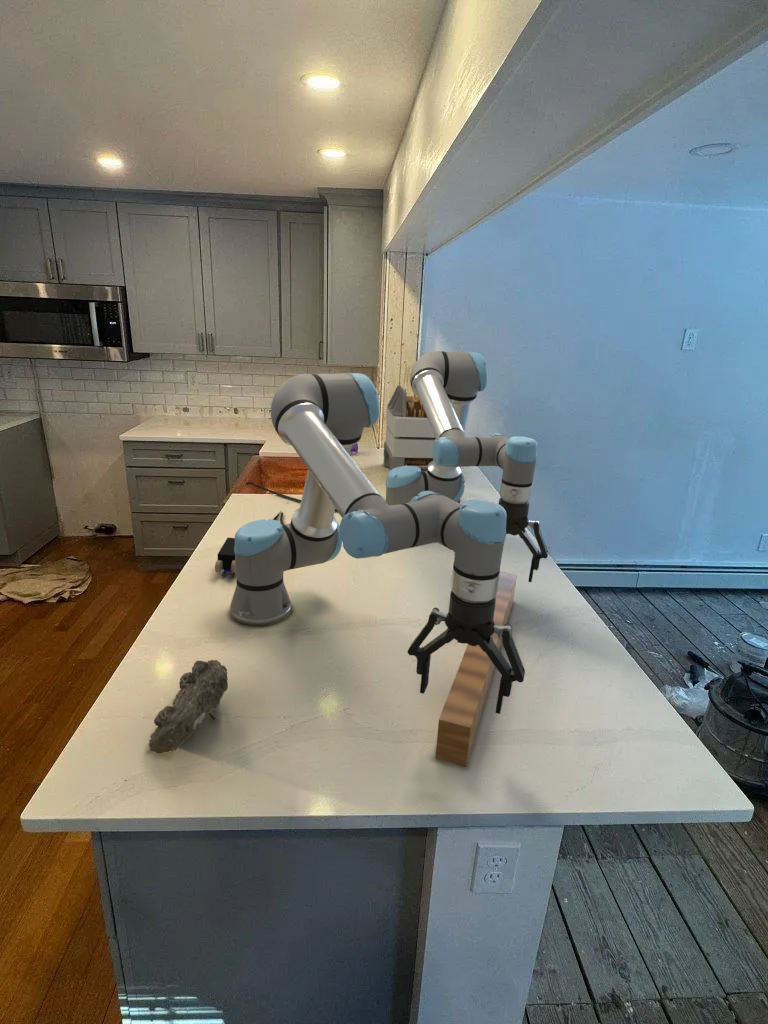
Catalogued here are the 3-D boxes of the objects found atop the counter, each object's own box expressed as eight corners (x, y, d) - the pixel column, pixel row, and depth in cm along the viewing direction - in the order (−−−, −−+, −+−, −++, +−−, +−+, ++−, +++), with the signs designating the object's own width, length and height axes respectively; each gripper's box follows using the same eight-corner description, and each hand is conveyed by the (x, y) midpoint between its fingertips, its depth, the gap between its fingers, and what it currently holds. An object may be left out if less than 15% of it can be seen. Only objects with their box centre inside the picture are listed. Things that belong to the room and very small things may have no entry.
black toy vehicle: (238, 584, 162) (249, 557, 175) (236, 562, 158) (247, 536, 172) (215, 584, 161) (227, 556, 175) (212, 561, 158) (225, 535, 171)
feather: (288, 505, 226) (290, 501, 226) (271, 529, 199) (273, 524, 199) (284, 503, 226) (287, 499, 225) (266, 526, 199) (269, 522, 199)
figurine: (346, 456, 299) (346, 428, 294) (338, 451, 308) (338, 424, 302) (362, 454, 303) (363, 427, 298) (354, 450, 312) (354, 423, 307)
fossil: (177, 661, 117) (228, 629, 112) (210, 691, 120) (261, 661, 115) (124, 747, 97) (183, 713, 92) (164, 781, 100) (223, 749, 95)
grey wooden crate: (382, 463, 289) (386, 382, 275) (445, 464, 293) (451, 384, 279) (390, 482, 257) (394, 392, 243) (460, 483, 261) (468, 394, 247)
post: (492, 597, 158) (496, 570, 155) (513, 601, 156) (516, 574, 154) (435, 758, 101) (438, 719, 98) (466, 767, 99) (470, 727, 96)
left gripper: (394, 588, 94) (387, 693, 101) (549, 621, 87) (529, 731, 94) (408, 569, 101) (400, 669, 108) (552, 598, 93) (533, 703, 101)
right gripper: (462, 496, 142) (454, 571, 150) (565, 512, 135) (551, 590, 143) (468, 487, 149) (460, 560, 157) (566, 502, 142) (553, 578, 149)
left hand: (460, 698), depth 101 cm, fingers open, 13 cm apart
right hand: (504, 575), depth 150 cm, fingers open, 13 cm apart
